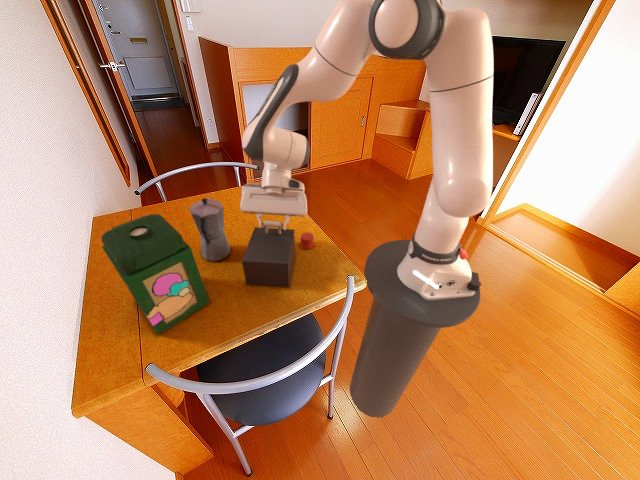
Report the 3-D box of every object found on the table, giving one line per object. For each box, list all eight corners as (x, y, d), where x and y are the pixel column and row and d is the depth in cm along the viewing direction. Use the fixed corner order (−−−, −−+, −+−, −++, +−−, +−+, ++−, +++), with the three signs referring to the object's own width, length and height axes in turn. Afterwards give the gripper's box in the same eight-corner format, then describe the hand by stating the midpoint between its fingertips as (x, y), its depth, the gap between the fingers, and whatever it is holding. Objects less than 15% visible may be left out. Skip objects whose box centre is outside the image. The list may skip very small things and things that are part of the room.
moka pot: (232, 237, 97) (221, 186, 84) (232, 267, 86) (220, 215, 73) (203, 240, 95) (188, 189, 82) (200, 272, 84) (181, 219, 71)
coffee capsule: (313, 241, 97) (313, 232, 95) (312, 249, 94) (313, 240, 91) (301, 240, 97) (301, 231, 95) (299, 248, 94) (299, 240, 91)
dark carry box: (257, 251, 92) (254, 230, 86) (294, 253, 92) (294, 233, 86) (246, 284, 81) (242, 263, 75) (288, 287, 81) (287, 266, 75)
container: (185, 271, 84) (157, 201, 68) (216, 305, 75) (193, 234, 59) (133, 298, 75) (88, 225, 59) (161, 340, 66) (117, 268, 50)
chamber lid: (255, 228, 87) (253, 215, 84) (294, 231, 87) (294, 218, 84) (242, 263, 75) (239, 249, 72) (287, 266, 75) (287, 252, 72)
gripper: (239, 179, 81) (235, 225, 80) (308, 183, 81) (305, 230, 80) (245, 185, 87) (241, 228, 86) (309, 189, 87) (306, 232, 86)
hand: (272, 229), depth 83 cm, fingers closed on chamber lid, 5 cm apart
